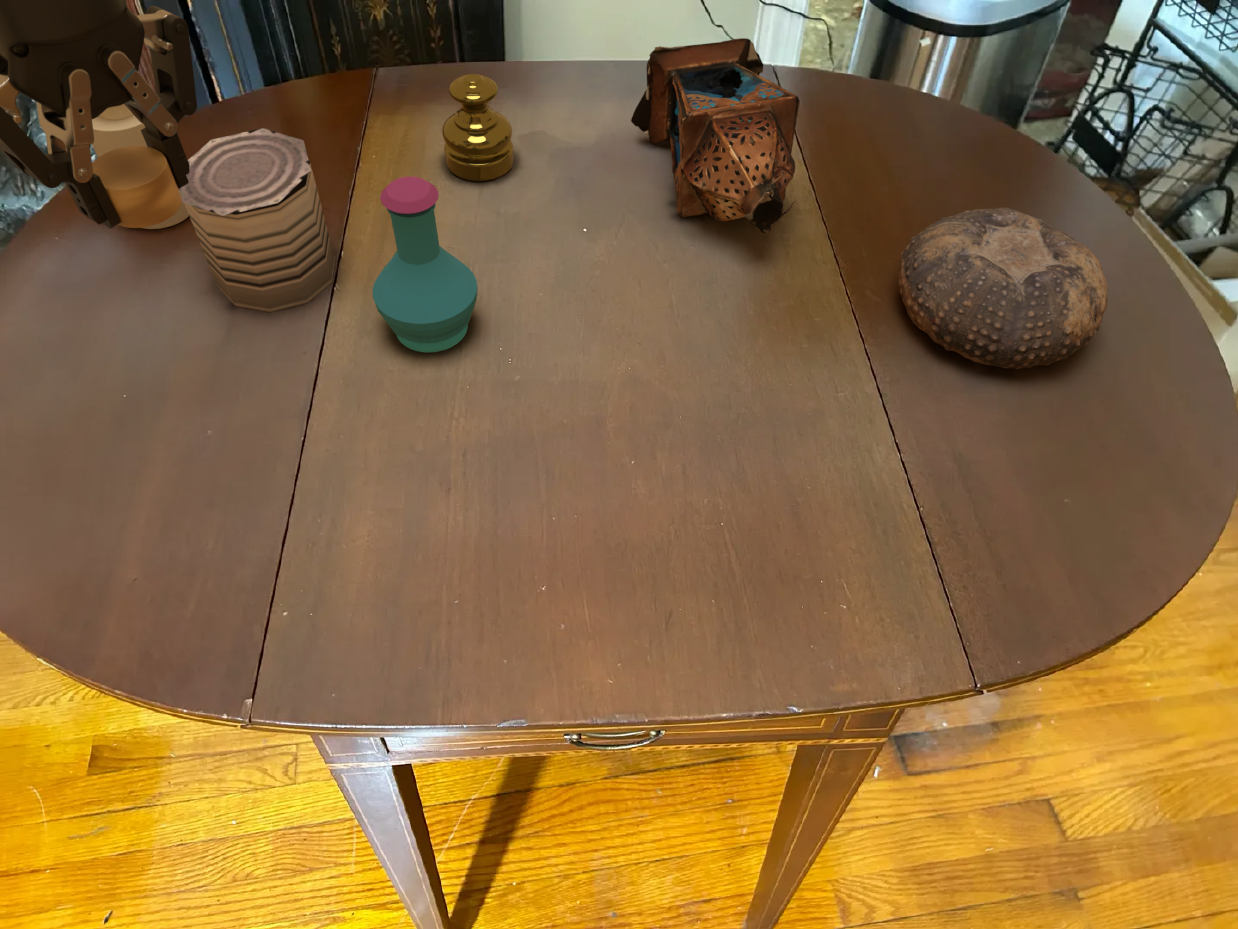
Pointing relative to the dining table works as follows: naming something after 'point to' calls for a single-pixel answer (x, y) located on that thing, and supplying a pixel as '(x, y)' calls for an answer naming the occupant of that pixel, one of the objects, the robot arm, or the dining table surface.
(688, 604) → the dining table surface
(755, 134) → the lantern
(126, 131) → the cream bottle
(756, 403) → the dining table surface
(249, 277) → the can
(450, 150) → the brass weight
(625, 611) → the dining table surface
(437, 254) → the perfume bottle
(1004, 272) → the sea urchin shell
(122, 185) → the tan short cylinder
